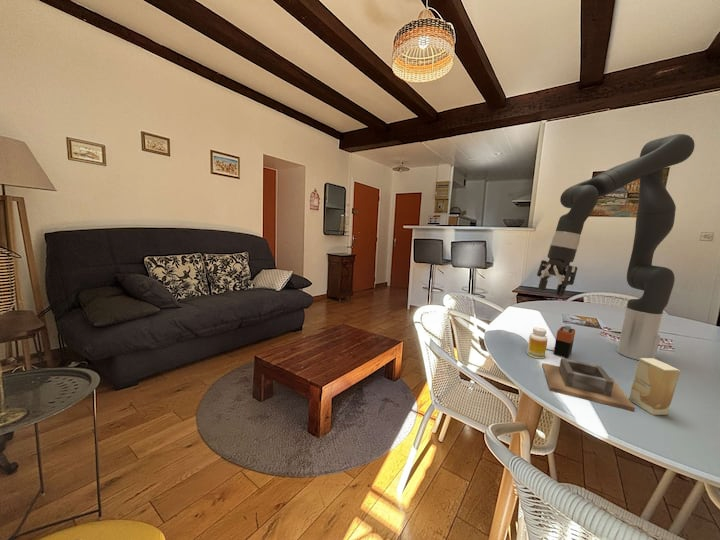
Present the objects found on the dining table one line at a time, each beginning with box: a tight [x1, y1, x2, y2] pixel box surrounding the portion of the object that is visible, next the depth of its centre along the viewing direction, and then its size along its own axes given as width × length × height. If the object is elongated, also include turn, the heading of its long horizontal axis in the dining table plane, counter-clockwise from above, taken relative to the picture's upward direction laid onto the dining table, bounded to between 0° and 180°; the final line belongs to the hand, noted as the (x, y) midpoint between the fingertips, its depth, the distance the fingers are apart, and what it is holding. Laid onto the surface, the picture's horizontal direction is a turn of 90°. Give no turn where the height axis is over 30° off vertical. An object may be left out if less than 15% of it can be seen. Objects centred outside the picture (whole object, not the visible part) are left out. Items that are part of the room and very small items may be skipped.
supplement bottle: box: [526, 326, 548, 359], centre depth 101 cm, size 5×5×10 cm
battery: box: [553, 324, 576, 359], centre depth 103 cm, size 4×7×10 cm, turn 135°
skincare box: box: [628, 358, 681, 416], centre depth 73 cm, size 6×4×12 cm
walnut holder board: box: [541, 357, 636, 412], centre depth 83 cm, size 18×16×5 cm
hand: (549, 292), depth 100 cm, fingers open, 8 cm apart
